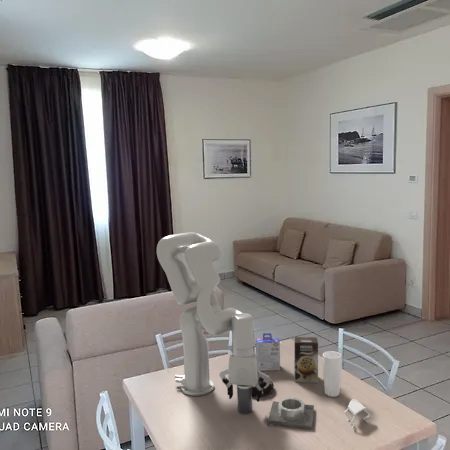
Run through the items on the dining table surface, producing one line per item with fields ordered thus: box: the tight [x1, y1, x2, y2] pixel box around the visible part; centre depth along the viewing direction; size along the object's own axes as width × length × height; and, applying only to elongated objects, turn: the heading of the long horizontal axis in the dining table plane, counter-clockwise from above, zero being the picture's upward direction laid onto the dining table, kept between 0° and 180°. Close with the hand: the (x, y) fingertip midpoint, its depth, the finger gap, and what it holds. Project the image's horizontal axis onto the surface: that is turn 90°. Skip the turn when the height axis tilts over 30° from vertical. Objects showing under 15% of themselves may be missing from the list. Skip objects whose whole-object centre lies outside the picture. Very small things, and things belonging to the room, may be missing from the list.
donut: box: [252, 376, 275, 397], centre depth 162 cm, size 12×12×4 cm
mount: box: [267, 396, 315, 430], centre depth 143 cm, size 14×12×4 cm
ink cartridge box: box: [255, 332, 281, 372], centre depth 179 cm, size 10×6×14 cm, turn 89°
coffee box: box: [293, 336, 319, 384], centre depth 169 cm, size 9×6×16 cm
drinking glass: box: [321, 350, 343, 398], centre depth 157 cm, size 7×7×15 cm
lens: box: [236, 385, 253, 415], centre depth 148 cm, size 5×5×10 cm
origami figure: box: [344, 398, 373, 429], centre depth 141 cm, size 12×8×5 cm
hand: (244, 398), depth 148 cm, fingers open, 9 cm apart
